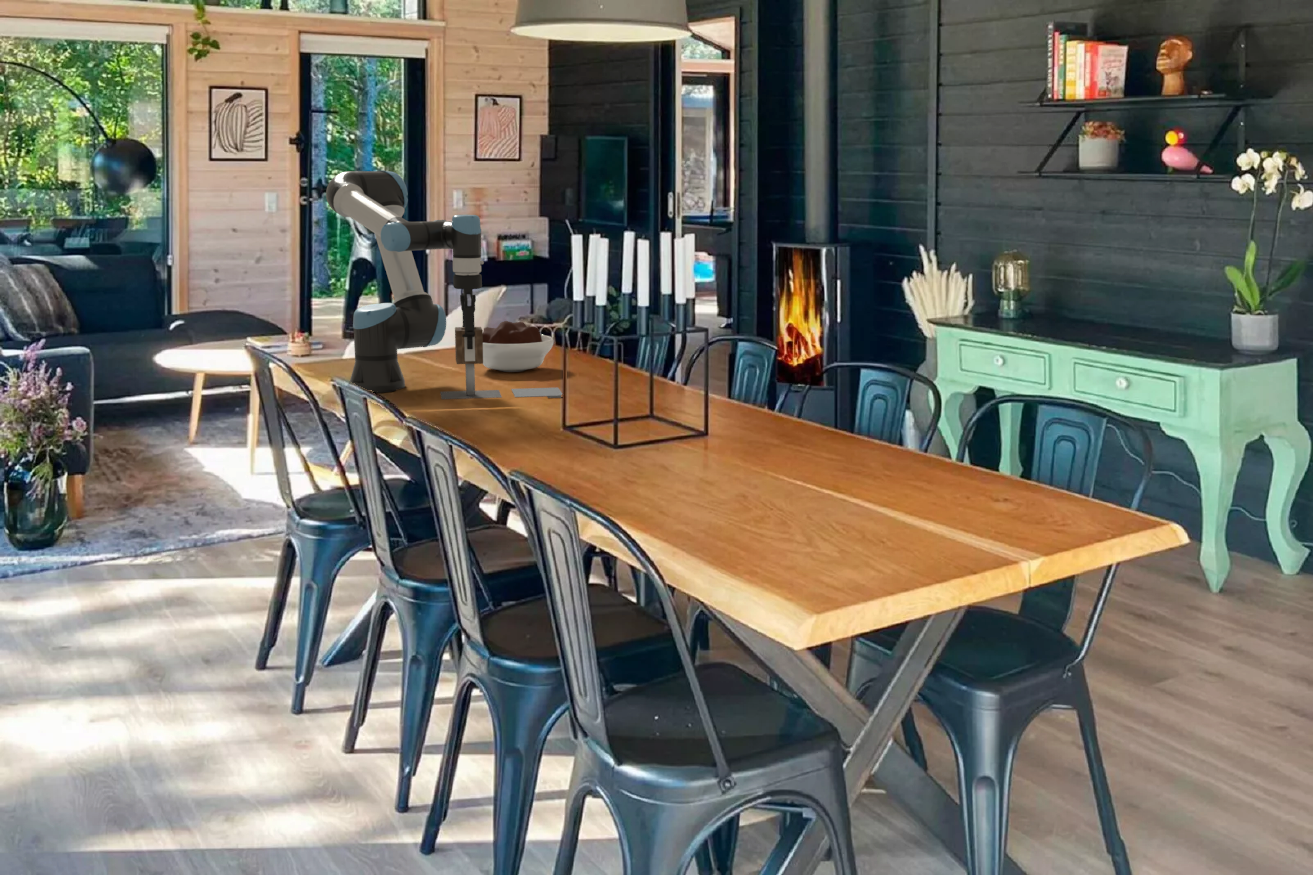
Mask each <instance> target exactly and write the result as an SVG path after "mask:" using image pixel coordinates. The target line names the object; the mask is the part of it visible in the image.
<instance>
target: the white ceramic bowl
mask: <svg viewBox="0 0 1313 875" xmlns="http://www.w3.org/2000/svg"><path fill="white" fill-rule="evenodd" d="M553 338H554V337H552V336H551V335H545V334H542V333H541V332H540V329H539V328H538V327H536V326H530V325H528V326H527V324H526V323H525V322H523V321H519V322H512V321H508V320H504V321H501V322H500V323H499V324H498V326H497V327H488V326H487V327H484V328H483V364H482V365H483V366H484V367H485V368H488V369H490V370H491V369H492V370H497V371H500V372H505V373H519V372H525V371H527V370H531V369H536V368H538V367H540V366H541V365H542V364H543V362H544V360H545V357H546V355H548V353H549V352H550V351H551V350H552V348H553V346H554V339H553Z"/></svg>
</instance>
